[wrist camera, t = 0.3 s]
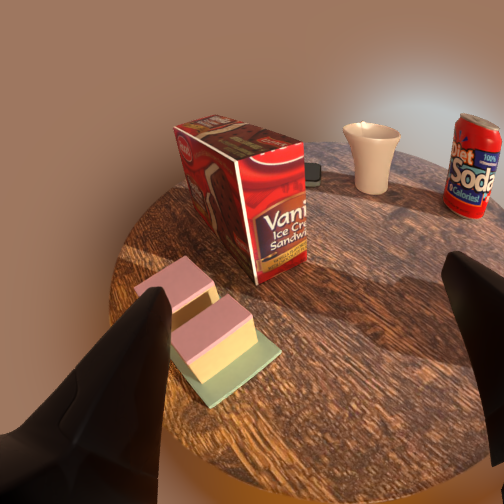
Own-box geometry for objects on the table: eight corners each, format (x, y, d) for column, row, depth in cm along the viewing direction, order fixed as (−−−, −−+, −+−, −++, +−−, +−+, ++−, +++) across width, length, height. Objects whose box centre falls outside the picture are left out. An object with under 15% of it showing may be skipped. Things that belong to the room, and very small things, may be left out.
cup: (384, 174, 44) (388, 121, 37) (402, 201, 37) (410, 139, 30) (337, 174, 45) (337, 119, 39) (348, 201, 38) (350, 136, 32)
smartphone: (320, 181, 41) (228, 177, 45) (320, 190, 42) (230, 186, 46) (321, 162, 47) (241, 160, 50) (321, 170, 48) (242, 168, 51)
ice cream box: (194, 207, 42) (173, 126, 34) (230, 193, 44) (215, 114, 36) (256, 285, 28) (234, 162, 20) (306, 260, 30) (303, 142, 22)
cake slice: (202, 384, 20) (186, 362, 17) (182, 360, 22) (165, 335, 19) (258, 341, 23) (252, 314, 20) (236, 321, 25) (228, 293, 22)
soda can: (476, 202, 35) (492, 120, 25) (487, 228, 30) (511, 135, 20) (438, 193, 38) (450, 108, 28) (445, 217, 33) (464, 119, 23)
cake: (171, 345, 23) (154, 320, 21) (149, 314, 26) (133, 287, 24) (223, 309, 26) (213, 280, 23) (196, 283, 29) (185, 255, 26)
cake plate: (210, 409, 19) (208, 407, 18) (145, 321, 26) (143, 318, 26) (281, 352, 22) (281, 350, 22) (203, 282, 30) (202, 279, 29)
